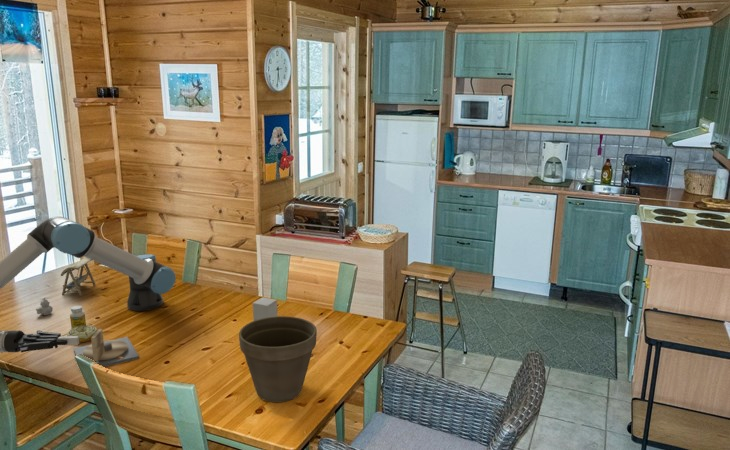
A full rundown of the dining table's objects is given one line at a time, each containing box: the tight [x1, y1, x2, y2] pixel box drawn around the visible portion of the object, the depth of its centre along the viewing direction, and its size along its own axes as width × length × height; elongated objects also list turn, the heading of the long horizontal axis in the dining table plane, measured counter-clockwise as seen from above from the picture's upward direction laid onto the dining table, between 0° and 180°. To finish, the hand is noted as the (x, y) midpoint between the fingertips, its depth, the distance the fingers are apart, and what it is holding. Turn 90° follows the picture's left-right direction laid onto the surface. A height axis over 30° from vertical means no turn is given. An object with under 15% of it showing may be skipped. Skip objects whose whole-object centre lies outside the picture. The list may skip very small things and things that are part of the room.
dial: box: [83, 328, 128, 361], centre depth 206 cm, size 17×15×10 cm
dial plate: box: [73, 336, 140, 368], centre depth 209 cm, size 19×19×1 cm
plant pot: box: [238, 315, 318, 403], centre depth 184 cm, size 25×25×22 cm
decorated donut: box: [66, 324, 98, 344], centre depth 222 cm, size 10×11×4 cm
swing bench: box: [60, 257, 97, 297], centre depth 270 cm, size 15×10×15 cm, turn 178°
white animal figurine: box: [35, 297, 53, 316], centre depth 242 cm, size 5×7×8 cm
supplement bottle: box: [69, 305, 87, 329], centre depth 228 cm, size 5×5×10 cm
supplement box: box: [252, 297, 278, 321], centre depth 231 cm, size 7×7×13 cm
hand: (77, 340), depth 200 cm, fingers closed
